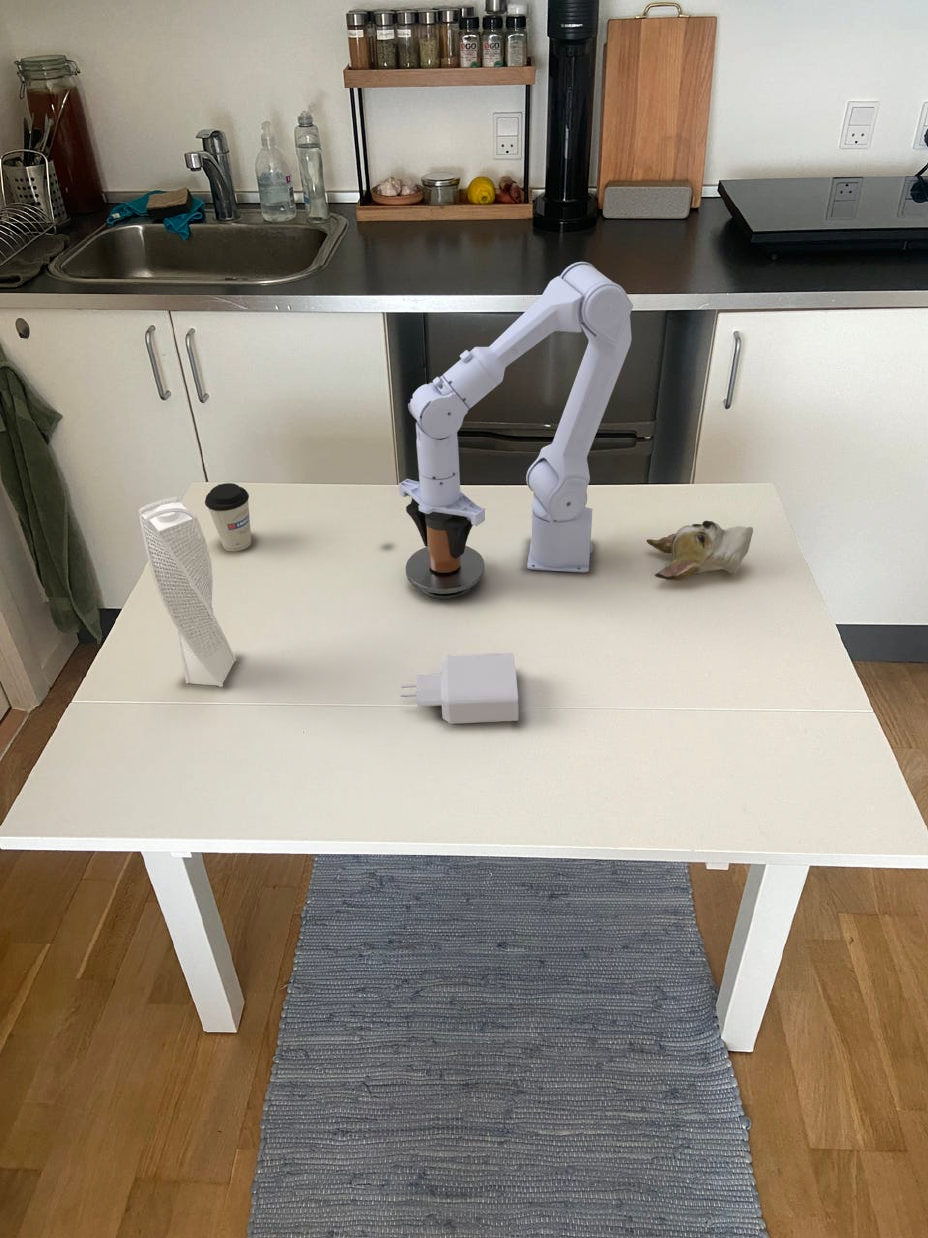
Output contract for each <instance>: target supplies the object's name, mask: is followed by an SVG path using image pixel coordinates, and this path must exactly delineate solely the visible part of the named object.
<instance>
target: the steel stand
mask: <svg viewBox="0 0 928 1238" xmlns="http://www.w3.org/2000/svg"><path fill="white" fill-rule="evenodd" d="M460 557H461V564H460V566H459V568H458V569H456V570H455V571H452V572H448V573H440V572H436V571H434V570H432V569H431V568H430V566H429V557H428V547H426V546H424V547H422V548H420V549H419V550H417V551H415V552H414V553H413V554H411V556H410V557H409V558H408V559H407V561H406V564H405V576H406V578H407V580H408V582H409V583H410V584H411V585H413V586H414V587H415V588H417V590H419V592H421V593H422V594H423V595H424V596H427V597H429V598H432V599H437V600H452V599H457V598H459V597H462V596H465V595H466V594H468V593H469V592H471V591H472V590H473V588H474V587H475V585H476V584H478V583H479V582H480V581H481V580H482V578H483V576H484V574H485V570H486V563H485V560H484V558H483V556H482V555H481V554H480V553H479V551H477V550H476V549H474V548H472V547H470V546H467V545H465V550H464V553H463V554H462V555H461V556H460Z"/></svg>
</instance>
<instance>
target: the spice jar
mask: <svg viewBox="0 0 928 1238" xmlns="http://www.w3.org/2000/svg"><path fill="white" fill-rule="evenodd" d="M451 517H453V515H452V514H445V513H439V512H432V513H430V514H426V513H425V522H426V530H427V544H428V557H429V566H430V568H431V569H432V570H434V571H436V572H440V573H448V572H452V571H455V570H456V569H458V568H459V566H460V564H461V557H460V556H459V557H458V558H457V559H454V558H452V556H451V551H450V542H449V537H448V534H447V532H446V529H445V528H444V526H443V523H444V522H445V521H447V520H448V519H449V518H451Z"/></svg>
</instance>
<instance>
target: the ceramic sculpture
mask: <svg viewBox="0 0 928 1238" xmlns="http://www.w3.org/2000/svg"><path fill="white" fill-rule="evenodd" d="M753 533H754V527H752V526H747V527H746V526H738V525H737V526H734V527H729V528H726V529H722V527H721V526H720V525H719V524H718V523H716V522H714V521H711V520H704V521H702V523H693V524H691V525H689V524H687V525H684V526H682V527H681V528H680V529H678V530H677V531H676V532H675V533H671V534H668V535H667V536H663V537H661V538H659V539H653V538H652V539H646V543H647V544H648V545H650V546H651V547H653V548H654V549H655V550H658V551H660V552H662V553H664V554H670V555H671V558H672V560H671V561H669V562H668V563H666V564H665V566H664V567H663V568H662V569H661V570H660V571H659V572H656V573H655V574H654V577H655V578H657V579H663V580H669V581H676V582H677V581H678V582H679V581H684V580H686V579H688V578H691V577H692V576H693V575H695V574H699V573H705V572H709V571H717V570H724V571H727V573H729V574H736V573H737V572H738V571H739V568H740V566H741V563H742V562H743V560H744V558H745V557H746V556H747V554H748V552H749V550H750V546H751V541H752V538H753Z"/></svg>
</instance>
